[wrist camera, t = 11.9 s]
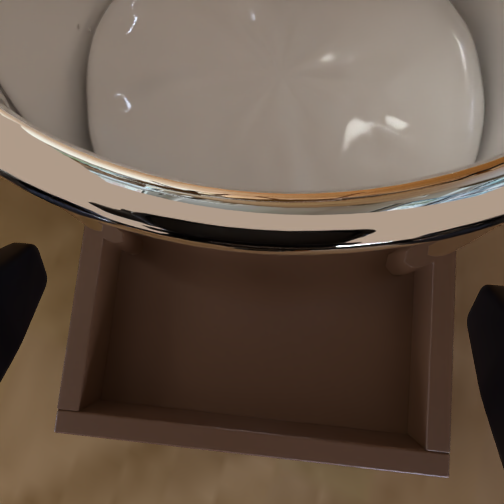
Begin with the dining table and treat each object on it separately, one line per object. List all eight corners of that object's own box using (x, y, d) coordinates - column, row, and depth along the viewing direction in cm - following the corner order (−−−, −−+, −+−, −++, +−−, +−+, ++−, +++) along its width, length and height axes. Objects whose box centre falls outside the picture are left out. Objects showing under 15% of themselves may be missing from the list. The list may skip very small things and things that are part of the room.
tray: (420, 451, 17) (449, 479, 14) (87, 413, 17) (52, 433, 15) (436, 43, 19) (464, -3, 16) (142, 26, 20) (121, -20, 17)
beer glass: (289, 111, 18) (370, -824, 3) (395, 237, 17) (1236, -253, 2) (159, 209, 18) (-437, -319, 3) (260, 343, 17) (169, 612, 2)
